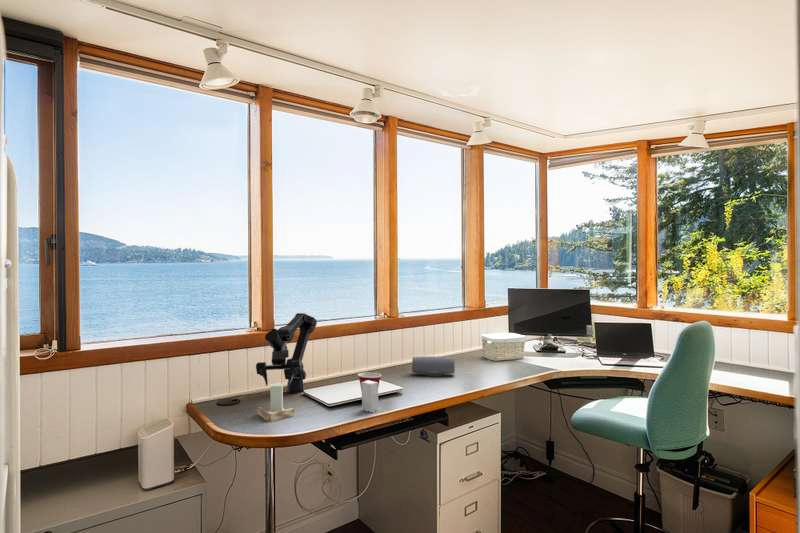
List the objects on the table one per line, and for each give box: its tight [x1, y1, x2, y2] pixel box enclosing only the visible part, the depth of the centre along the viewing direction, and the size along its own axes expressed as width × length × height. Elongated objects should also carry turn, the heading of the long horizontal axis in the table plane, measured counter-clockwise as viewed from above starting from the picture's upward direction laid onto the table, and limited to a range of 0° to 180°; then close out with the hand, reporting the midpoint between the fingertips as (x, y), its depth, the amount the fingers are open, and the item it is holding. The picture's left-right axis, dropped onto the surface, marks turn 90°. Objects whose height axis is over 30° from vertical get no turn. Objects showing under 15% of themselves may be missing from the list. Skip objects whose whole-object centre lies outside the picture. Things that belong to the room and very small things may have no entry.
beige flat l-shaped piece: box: [257, 406, 295, 422], centre depth 198 cm, size 11×11×3 cm
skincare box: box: [360, 380, 380, 413], centre depth 204 cm, size 6×4×12 cm
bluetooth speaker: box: [411, 356, 456, 377], centre depth 264 cm, size 23×9×10 cm, turn 84°
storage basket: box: [481, 332, 526, 362], centre depth 306 cm, size 24×16×15 cm
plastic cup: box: [357, 372, 382, 392], centre depth 218 cm, size 11×11×12 cm
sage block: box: [269, 382, 284, 413], centre depth 199 cm, size 4×4×12 cm
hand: (278, 384), depth 205 cm, fingers open, 9 cm apart
